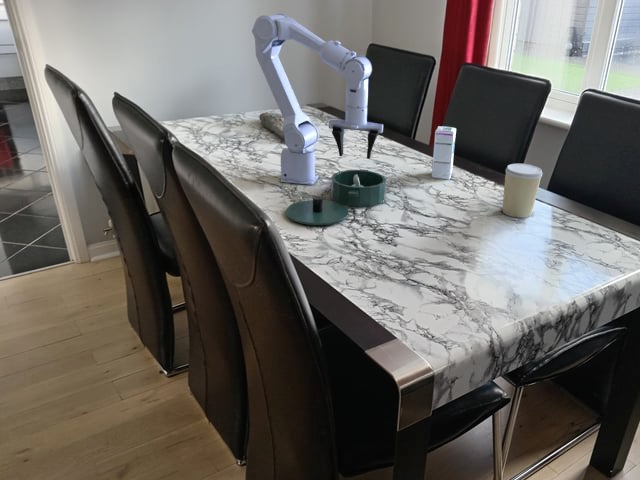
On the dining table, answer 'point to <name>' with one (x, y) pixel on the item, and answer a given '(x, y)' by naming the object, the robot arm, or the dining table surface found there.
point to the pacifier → (356, 181)
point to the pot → (358, 188)
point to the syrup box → (443, 152)
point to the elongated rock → (273, 123)
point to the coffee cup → (520, 189)
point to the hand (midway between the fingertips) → (354, 156)
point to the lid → (317, 212)
